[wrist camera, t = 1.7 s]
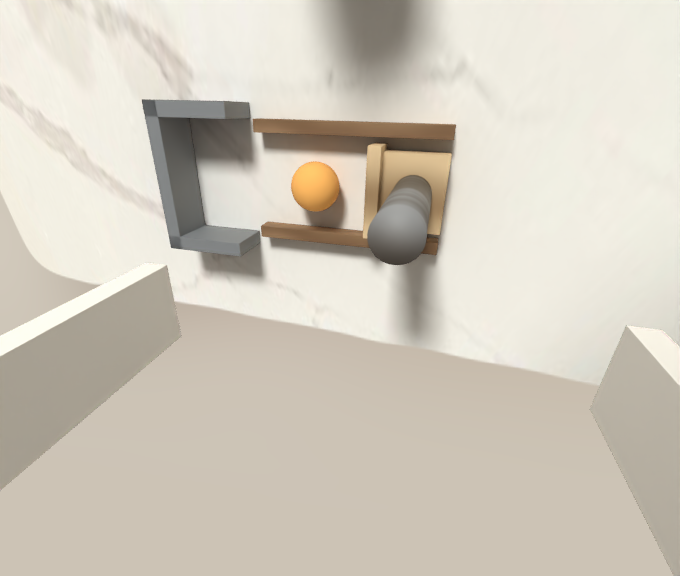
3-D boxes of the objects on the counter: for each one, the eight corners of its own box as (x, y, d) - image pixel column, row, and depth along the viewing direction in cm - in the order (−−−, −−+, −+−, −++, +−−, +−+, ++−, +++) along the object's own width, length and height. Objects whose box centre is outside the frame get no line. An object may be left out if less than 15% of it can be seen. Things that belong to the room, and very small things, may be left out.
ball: (300, 157, 31) (282, 163, 28) (345, 160, 30) (332, 166, 27) (301, 203, 33) (285, 214, 29) (343, 207, 32) (331, 218, 29)
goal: (174, 100, 32) (141, 99, 28) (248, 102, 30) (223, 101, 27) (196, 235, 37) (171, 247, 34) (260, 242, 36) (240, 256, 32)
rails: (260, 118, 30) (252, 118, 29) (455, 124, 27) (455, 125, 26) (268, 231, 35) (261, 236, 34) (436, 249, 32) (436, 255, 30)
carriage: (374, 142, 29) (330, 161, 17) (452, 146, 27) (458, 168, 16) (369, 227, 32) (329, 289, 21) (439, 233, 31) (436, 304, 19)
